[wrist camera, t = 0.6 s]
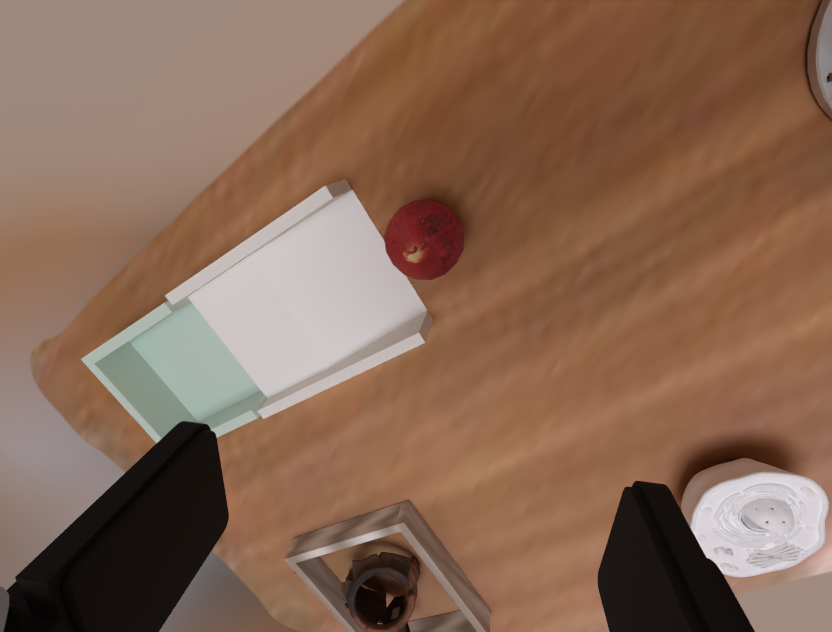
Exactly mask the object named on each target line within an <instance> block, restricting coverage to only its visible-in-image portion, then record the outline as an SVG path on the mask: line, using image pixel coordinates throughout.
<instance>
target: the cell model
mask: <svg viewBox="0 0 832 632" xmlns="http://www.w3.org/2000/svg"><path fill="white" fill-rule="evenodd" d="M828 510H829V501H828V498H827V495H826V493H825V492H824V490H823V489H822V488H821V487H820V486H819V485H818V484H817V483H816V482H814V481H813V480H811V479H809V478H807V477H804V476H800V475H798V474H795V473H792V472H789V471H786V470H782V469H779V468H776V467H774V466H771V465H768V464H765V463H761V462H758V461H755V460H752V459H749V458H741V459H737V460H734V461H731V462H726V463H722V464H718V465H715V466H712V467H710V468H708V469H705V470H703V471H700V472H699V473H697V474H696V475H695V476H694V477H693V478H692V479H691V480H690V482H689V483H688V485H687V487H686V489H685V492H684V495H683V497H682V503H681V511H682V513H683V515H684V517H685V519H686V521H687V523H688V524H689V526H690V528H691V530H692V532H693V534H694V535H695V537H696V539H697V541H698V543H699V545H700V547H701V548H702V550H703V552H704V554H705V556H706V558H709V559H711V560H712V561H713V562H714V563H716V565H717V566H718V568H719V569H720V570H721V572H722V574H725V575H728V576H733V577H749V576H755V575H759V574H763V573H768V572H773V571H778V570H782V569H786V568H790V567H792V566H795V565H797V564H798V563H800V562H801V561H803V560H804V559H806V558H807V557H809V556H810V555H812V554H813V553H815V552H816V551H817V550H819V549H820V548H821V547H822V545H823V544H824V542H825V539H826V536H825V519H826V516H827V513H828Z"/></svg>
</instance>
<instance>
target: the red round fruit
mask: <svg viewBox="0 0 832 632" xmlns="http://www.w3.org/2000/svg"><path fill="white" fill-rule="evenodd" d="M384 240H385V248H386V253H387V255H388V256H389V258H390V260H391V262H392V264H393V265H394V266H395V267H396V268H397V269H398V270H399V271H400V272H402V273H403V274H404V275H407V276H409V277H412V278H414V279H421V280H432V279H435V278H437V277H439V276H442V275H444V274H446V273H447V272H448V271H449V270H450V269H451V268H452V267H453V266H454V265H455V264H456V263H457V261H458V259H459V257H460V255H461V253H462V251H463V243H464V233H463V230H462V227H461V224H460V221H459V218H458V216H457V215H456V214H455V213H454V212H453V211H452V210H451V209H450V208H449V207H448V206H447V205H444V204H441V203H439V202H436V201H433V200H420V201H413V202H411V203H409V204H407V205H405V206H404V207H402V208H400V209H399V210H398V211H397V213H396V214H395V215H394V216H393V218H392V219H391V220H390V222H389V224H388V227H387V230H386V233H385V236H384Z"/></svg>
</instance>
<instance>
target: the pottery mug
mask: <svg viewBox="0 0 832 632" xmlns="http://www.w3.org/2000/svg"><path fill="white" fill-rule="evenodd" d="M352 563H353V571H352V570H350V572H349V574H348V576H347V578H346V581H345V582H343V583H342V586H341V590H342V592H343V595H344V597H345V599H346V601H347V603H345V604H344V606H345V608H346V610H347V612H348V614H349V615H350V616H351V618H352V619H353V620H354V621H355V623H356V624H357V625H358V626H359V627H360V628H361V629H362V630H364V631H366V632H410V628H409V625H408V620H409V619H410V617H411V615H412V613H413V610H414V606H415V601H416V598H417V581H418V579H419V577H420V567H419V565H418V562H417V560H416V559H415V558H414V559H412V560H411V559H410V558H408V557H405V556H402V555H398V554H394V553H386V552H381V553H380V555H379V556H378V555H377V554H373V555H371V556H369V557H368V558H365V559H363V560H359V561H358V560H353V561H352ZM382 574H383V575H389V576H392V577H395V578H396V579H398V580H399V581H400V582H401V583H402V584H403V585H404V586H405V587H406V586H407V584H408V586H409V592H408V598H407V602H406V597H405V596H404V595H402V596H400V597H395V598H394V599H393V600H392V602H391V603H390V604H389V606H388V607H386V591H372V590H369V589H366V588H364V587H362V586H361V584H362V583H363V582H364V581H366V580H367V579H368V578H370V577H372V576H375V575H382ZM378 622H379V623H383V624H377V623H378Z"/></svg>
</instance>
